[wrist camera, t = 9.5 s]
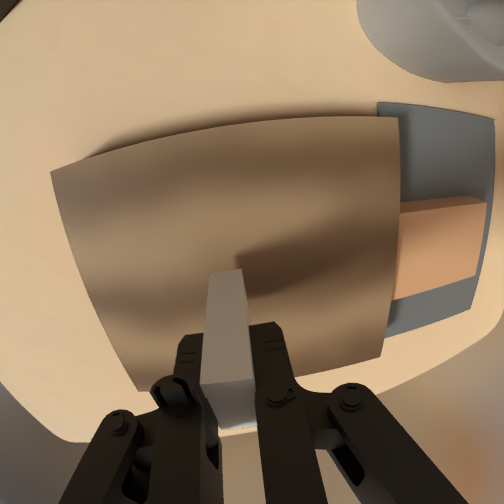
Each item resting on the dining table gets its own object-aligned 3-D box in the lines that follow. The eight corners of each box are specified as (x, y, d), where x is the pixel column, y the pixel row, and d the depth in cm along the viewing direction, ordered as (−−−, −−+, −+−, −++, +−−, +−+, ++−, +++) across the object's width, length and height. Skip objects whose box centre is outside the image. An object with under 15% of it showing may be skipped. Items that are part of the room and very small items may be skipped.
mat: (376, 102, 14) (379, 102, 14) (491, 119, 14) (494, 119, 14) (369, 339, 21) (370, 342, 21) (468, 307, 22) (470, 309, 21)
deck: (76, 163, 14) (50, 171, 11) (371, 117, 14) (397, 117, 12) (145, 364, 21) (138, 391, 18) (365, 332, 21) (380, 356, 18)
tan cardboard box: (377, 205, 16) (393, 214, 15) (469, 195, 17) (486, 202, 15) (374, 286, 19) (386, 301, 17) (460, 264, 19) (475, 275, 17)
